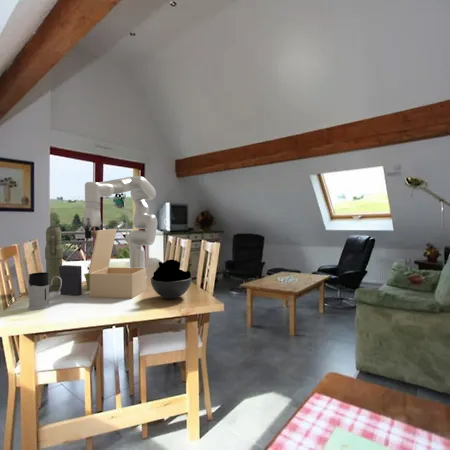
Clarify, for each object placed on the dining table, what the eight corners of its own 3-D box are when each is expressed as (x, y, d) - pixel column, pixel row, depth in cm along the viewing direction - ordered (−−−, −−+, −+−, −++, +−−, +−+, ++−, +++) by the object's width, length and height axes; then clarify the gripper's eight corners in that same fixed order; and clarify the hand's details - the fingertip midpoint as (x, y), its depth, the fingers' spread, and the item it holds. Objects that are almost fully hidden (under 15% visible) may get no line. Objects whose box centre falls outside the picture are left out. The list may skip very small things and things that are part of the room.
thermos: (45, 292, 170) (44, 227, 169) (45, 288, 180) (44, 226, 180) (64, 290, 175) (63, 226, 174) (62, 286, 185) (61, 226, 184)
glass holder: (34, 304, 147) (33, 272, 146) (66, 304, 148) (65, 271, 147) (23, 310, 138) (23, 275, 138) (57, 309, 139) (57, 275, 139)
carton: (108, 288, 180) (108, 267, 179) (146, 289, 177) (146, 267, 177) (89, 297, 160) (89, 273, 159) (132, 298, 157) (132, 274, 157)
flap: (108, 267, 180) (94, 263, 180) (116, 229, 178) (102, 225, 179) (89, 273, 159) (73, 269, 160) (98, 230, 158) (82, 226, 159)
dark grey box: (83, 294, 167) (82, 265, 166) (77, 296, 162) (76, 266, 162) (65, 292, 170) (65, 264, 169) (59, 294, 165) (58, 266, 165)
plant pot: (80, 290, 175) (80, 274, 175) (91, 286, 184) (91, 271, 184) (95, 291, 173) (95, 275, 173) (105, 287, 182) (105, 272, 182)
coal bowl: (186, 291, 171) (186, 257, 171) (196, 300, 153) (196, 261, 152) (148, 295, 164) (147, 258, 164) (154, 305, 146) (153, 264, 145)
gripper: (94, 206, 178) (94, 236, 178) (76, 205, 161) (77, 238, 161) (107, 206, 177) (107, 236, 178) (90, 204, 160) (91, 239, 160)
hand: (93, 237), depth 169 cm, fingers open, 9 cm apart
